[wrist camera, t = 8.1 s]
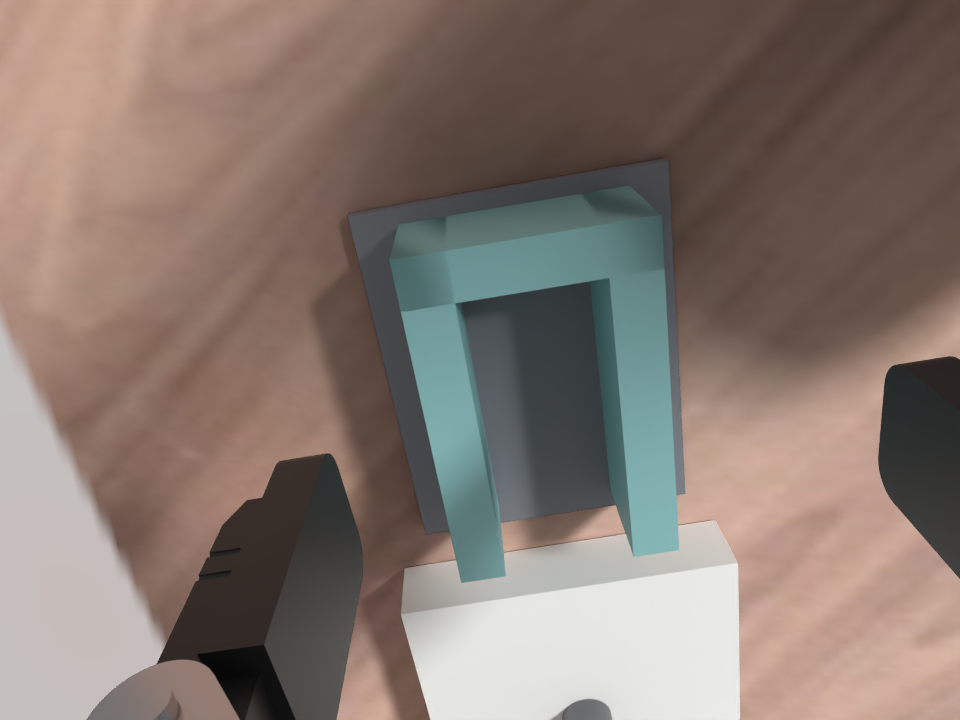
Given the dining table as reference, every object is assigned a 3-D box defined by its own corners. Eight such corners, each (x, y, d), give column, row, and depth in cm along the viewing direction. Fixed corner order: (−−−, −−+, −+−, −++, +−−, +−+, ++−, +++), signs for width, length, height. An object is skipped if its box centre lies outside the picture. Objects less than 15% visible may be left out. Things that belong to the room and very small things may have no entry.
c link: (398, 224, 18) (389, 259, 15) (629, 185, 18) (661, 214, 15) (459, 513, 22) (461, 582, 19) (650, 483, 22) (678, 550, 19)
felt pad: (349, 212, 18) (347, 216, 18) (664, 158, 18) (668, 161, 17) (426, 526, 22) (425, 534, 22) (681, 486, 22) (685, 493, 22)
